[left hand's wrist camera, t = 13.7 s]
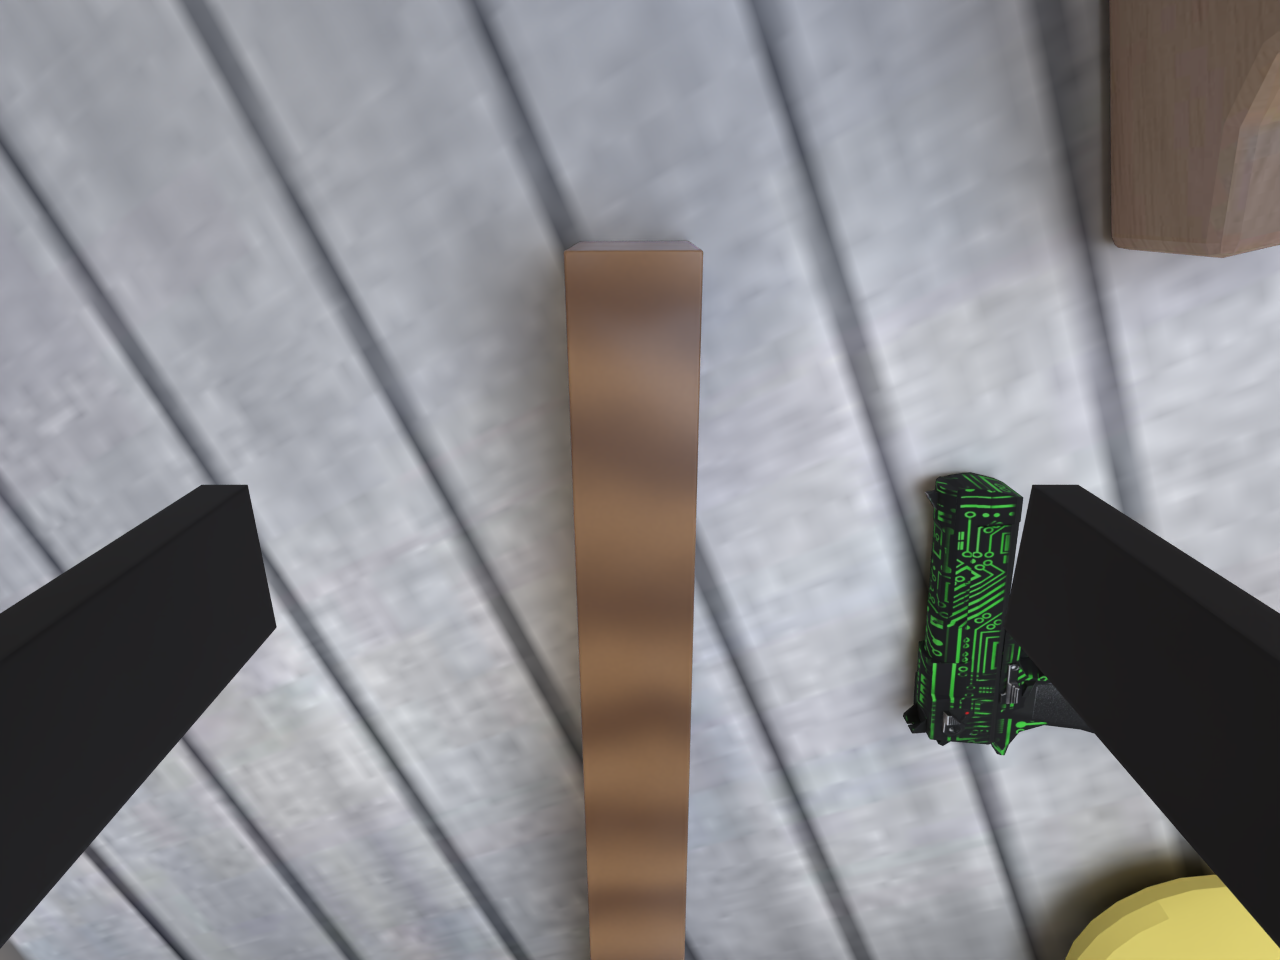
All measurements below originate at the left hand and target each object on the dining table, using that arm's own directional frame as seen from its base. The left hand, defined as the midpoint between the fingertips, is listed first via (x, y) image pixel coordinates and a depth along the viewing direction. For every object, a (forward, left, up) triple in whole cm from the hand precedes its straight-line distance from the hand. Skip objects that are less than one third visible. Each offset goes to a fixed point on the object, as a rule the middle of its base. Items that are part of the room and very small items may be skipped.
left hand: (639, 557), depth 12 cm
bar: (+22, +4, -23) cm, 32 cm away
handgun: (+10, +24, -23) cm, 35 cm away
